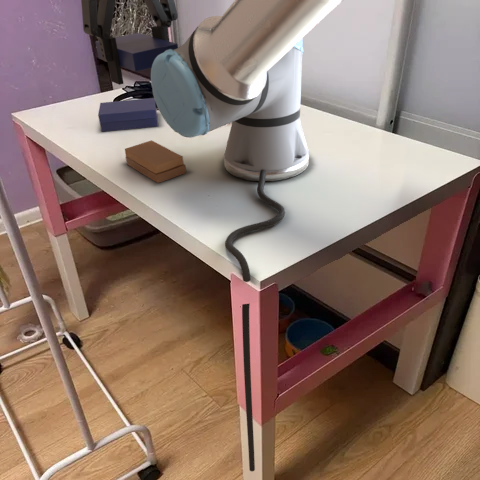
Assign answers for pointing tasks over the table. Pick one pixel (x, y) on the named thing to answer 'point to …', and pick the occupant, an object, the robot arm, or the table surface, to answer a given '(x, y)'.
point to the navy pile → (128, 114)
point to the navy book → (139, 50)
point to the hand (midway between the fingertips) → (140, 76)
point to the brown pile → (155, 161)
